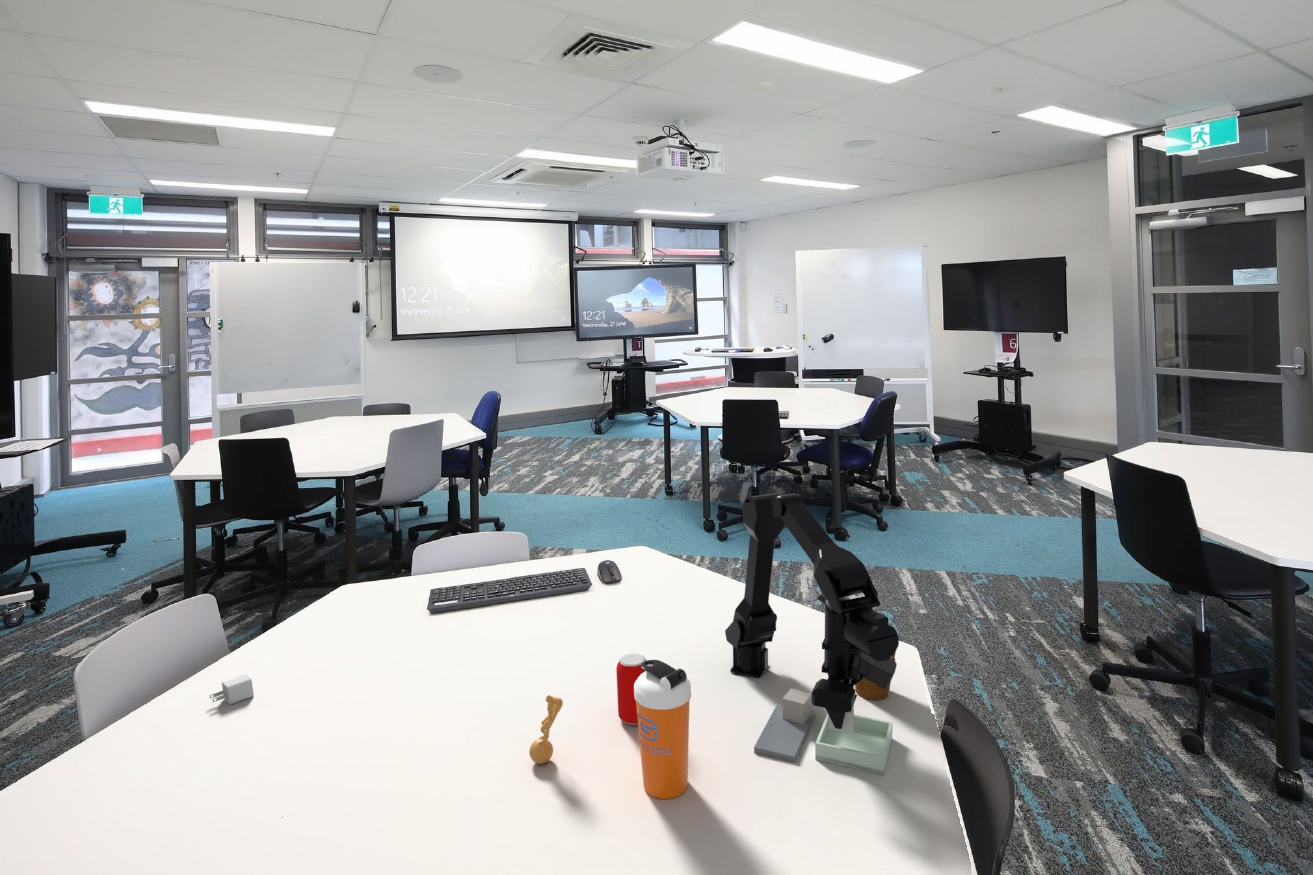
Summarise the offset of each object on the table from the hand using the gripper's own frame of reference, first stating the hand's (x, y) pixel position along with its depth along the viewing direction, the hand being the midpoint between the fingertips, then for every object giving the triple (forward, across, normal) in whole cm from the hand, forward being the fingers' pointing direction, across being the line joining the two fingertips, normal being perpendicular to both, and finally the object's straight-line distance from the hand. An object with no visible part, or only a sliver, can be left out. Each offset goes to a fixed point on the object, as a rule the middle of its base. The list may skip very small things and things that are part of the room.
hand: (841, 720), depth 119 cm
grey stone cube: (+4, +6, +9) cm, 12 cm away
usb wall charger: (+6, -29, +116) cm, 120 cm away
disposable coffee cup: (+6, +21, -2) cm, 22 cm away
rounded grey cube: (0, 0, 0) cm, 0 cm away
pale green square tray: (+6, +1, -2) cm, 6 cm away
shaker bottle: (+6, -20, +24) cm, 31 cm away
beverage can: (+6, -4, +37) cm, 38 cm away
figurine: (+6, -22, +45) cm, 50 cm away
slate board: (+6, +1, +10) cm, 11 cm away
